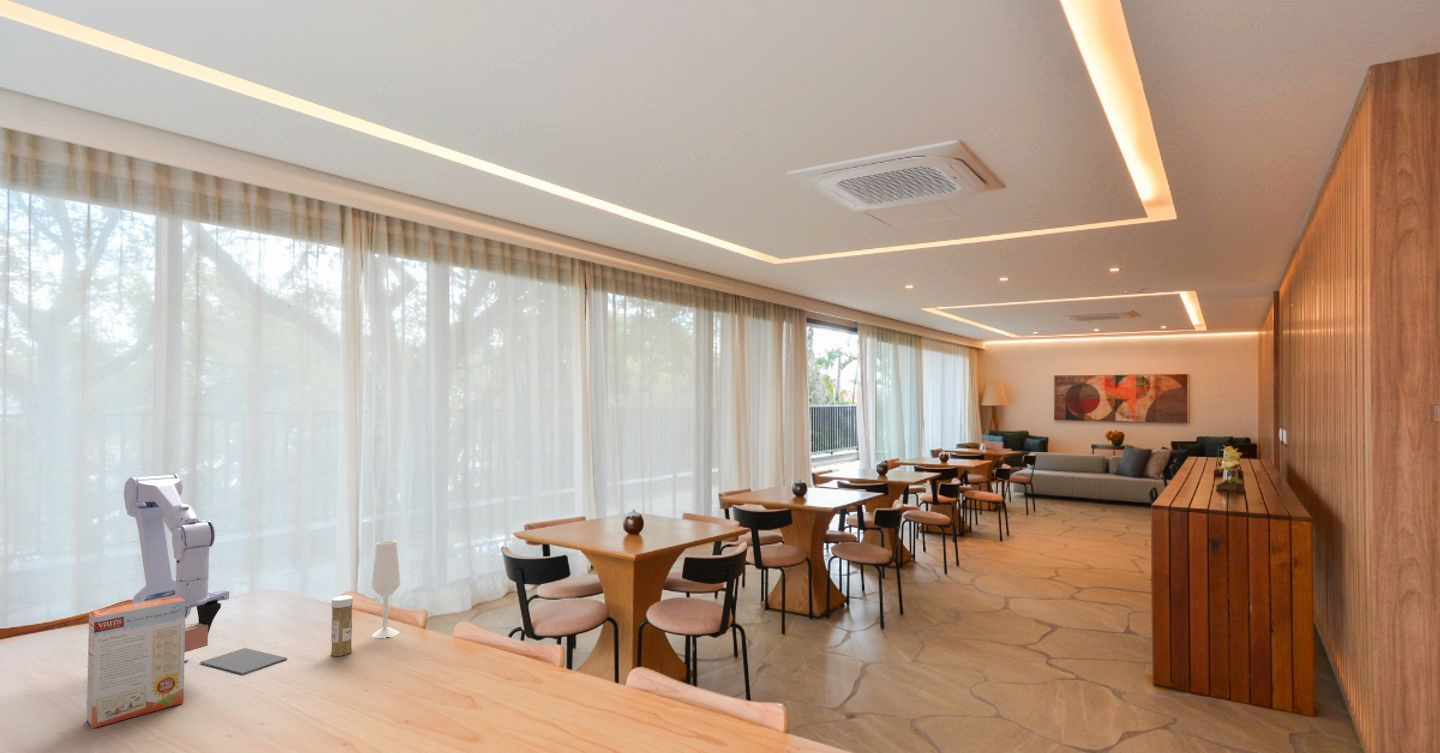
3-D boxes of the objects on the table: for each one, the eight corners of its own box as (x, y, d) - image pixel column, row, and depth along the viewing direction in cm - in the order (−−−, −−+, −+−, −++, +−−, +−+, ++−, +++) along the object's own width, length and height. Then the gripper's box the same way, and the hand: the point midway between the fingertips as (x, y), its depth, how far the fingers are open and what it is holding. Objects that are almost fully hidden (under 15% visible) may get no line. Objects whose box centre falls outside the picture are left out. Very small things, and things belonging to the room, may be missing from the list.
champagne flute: (364, 637, 176) (366, 543, 177) (384, 629, 183) (386, 538, 184) (385, 639, 174) (387, 545, 175) (405, 631, 181) (406, 540, 182)
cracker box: (176, 696, 141) (179, 594, 142) (184, 704, 137) (187, 599, 138) (84, 720, 130) (88, 609, 131) (90, 730, 126) (94, 615, 127)
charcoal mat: (199, 663, 158) (200, 661, 159) (244, 649, 168) (245, 647, 168) (242, 674, 152) (242, 673, 152) (287, 659, 161) (287, 657, 161)
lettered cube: (172, 649, 148) (173, 627, 149) (195, 642, 153) (196, 621, 153) (184, 652, 147) (185, 630, 147) (207, 645, 151) (208, 624, 151)
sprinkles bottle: (352, 654, 164) (353, 598, 165) (331, 658, 162) (332, 601, 162) (350, 648, 168) (352, 593, 169) (329, 652, 166) (330, 596, 166)
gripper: (164, 588, 142) (162, 654, 141) (238, 572, 155) (236, 633, 155) (145, 584, 145) (143, 649, 144) (219, 569, 158) (217, 628, 158)
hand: (190, 640), depth 150 cm, fingers closed on lettered cube, 4 cm apart
